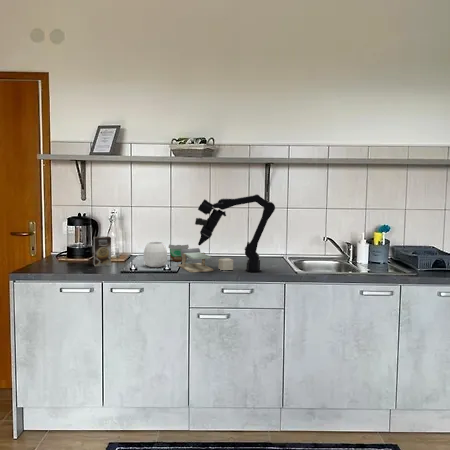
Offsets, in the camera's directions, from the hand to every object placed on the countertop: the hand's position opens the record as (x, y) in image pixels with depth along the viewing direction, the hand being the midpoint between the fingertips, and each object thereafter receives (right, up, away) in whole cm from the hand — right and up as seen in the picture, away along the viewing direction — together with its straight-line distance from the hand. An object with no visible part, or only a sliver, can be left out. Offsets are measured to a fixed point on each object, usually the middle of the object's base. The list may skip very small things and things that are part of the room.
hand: (199, 243), depth 259 cm
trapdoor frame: (-2, -14, +4) cm, 15 cm away
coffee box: (-55, -13, +8) cm, 57 cm away
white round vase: (-25, -13, +8) cm, 30 cm away
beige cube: (+14, -15, +1) cm, 21 cm away
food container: (-14, -12, +25) cm, 31 cm away
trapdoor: (-2, -9, +4) cm, 10 cm away
